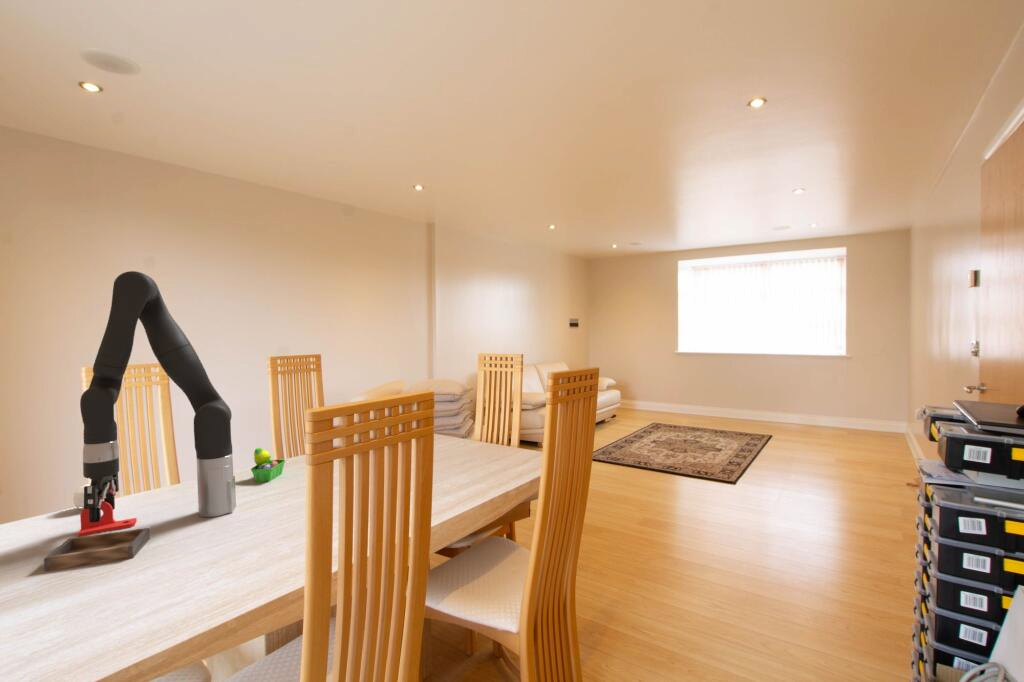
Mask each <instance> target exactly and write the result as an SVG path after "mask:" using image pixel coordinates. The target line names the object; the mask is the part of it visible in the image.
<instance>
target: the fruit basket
mask: <svg viewBox="0 0 1024 682" xmlns="http://www.w3.org/2000/svg"><path fill="white" fill-rule="evenodd" d="M271 455H272V454H271V453H270V452H269V451H267V450H265V449H263V448H262V447H256V448H255V450H254V452H253V456H254V457H253V461H254V463H255V466H253V467H251V468H250V471H251V473H252V475H253V477H254V481H255V482H262V483H265V482H269V483H270V482H271V481H273V480H275V479H276V478H278V476H280V475H282V474H283V473H282V472H283V470H284V465H285V463H286V459H271V458H272V456H271Z"/></svg>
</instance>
